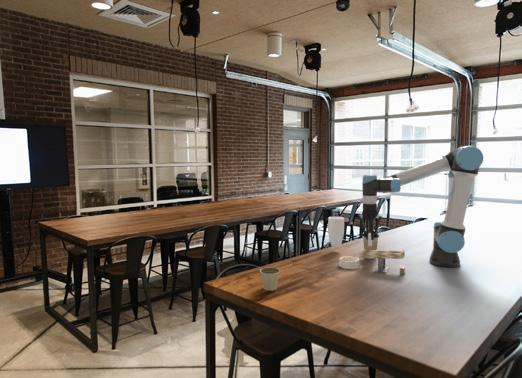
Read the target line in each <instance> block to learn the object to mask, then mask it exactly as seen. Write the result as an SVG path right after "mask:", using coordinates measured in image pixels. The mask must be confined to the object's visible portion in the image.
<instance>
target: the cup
mask: <svg viewBox="0 0 522 378" xmlns="http://www.w3.org/2000/svg"><path fill="white" fill-rule="evenodd" d="M327 229H328V230H327V231H328V238H329V242H330V244H331V247H332V248H333V249H339V248H340V247H341V245H342V242H343V241H344V240H343V239H344V235H345V217H342V216H329V217H328V221H327Z"/></svg>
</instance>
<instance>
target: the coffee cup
mask: <svg viewBox="0 0 522 378" xmlns="http://www.w3.org/2000/svg"><path fill="white" fill-rule="evenodd" d="M369 233H371V230H369ZM361 237H362V238H363V250H377V251H378V244H379V241H378V239H379V237H380V236H379V233H378V232H377V233H375V234H374V240H372V246H368V240H367V239H366V233H363V232H362V235H361ZM366 259H368V260H375V259H376V258H366Z"/></svg>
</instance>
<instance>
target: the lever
mask: <svg viewBox="0 0 522 378" xmlns="http://www.w3.org/2000/svg"><path fill="white" fill-rule="evenodd" d="M367 258H375V259H378V258H385V259H386V260H387V259H392V260H393V259H394V260H395V259H396V260H404V259H405V249H402V250H378V249H377V250H364V249H362V250H360V252H358V259H367Z"/></svg>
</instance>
